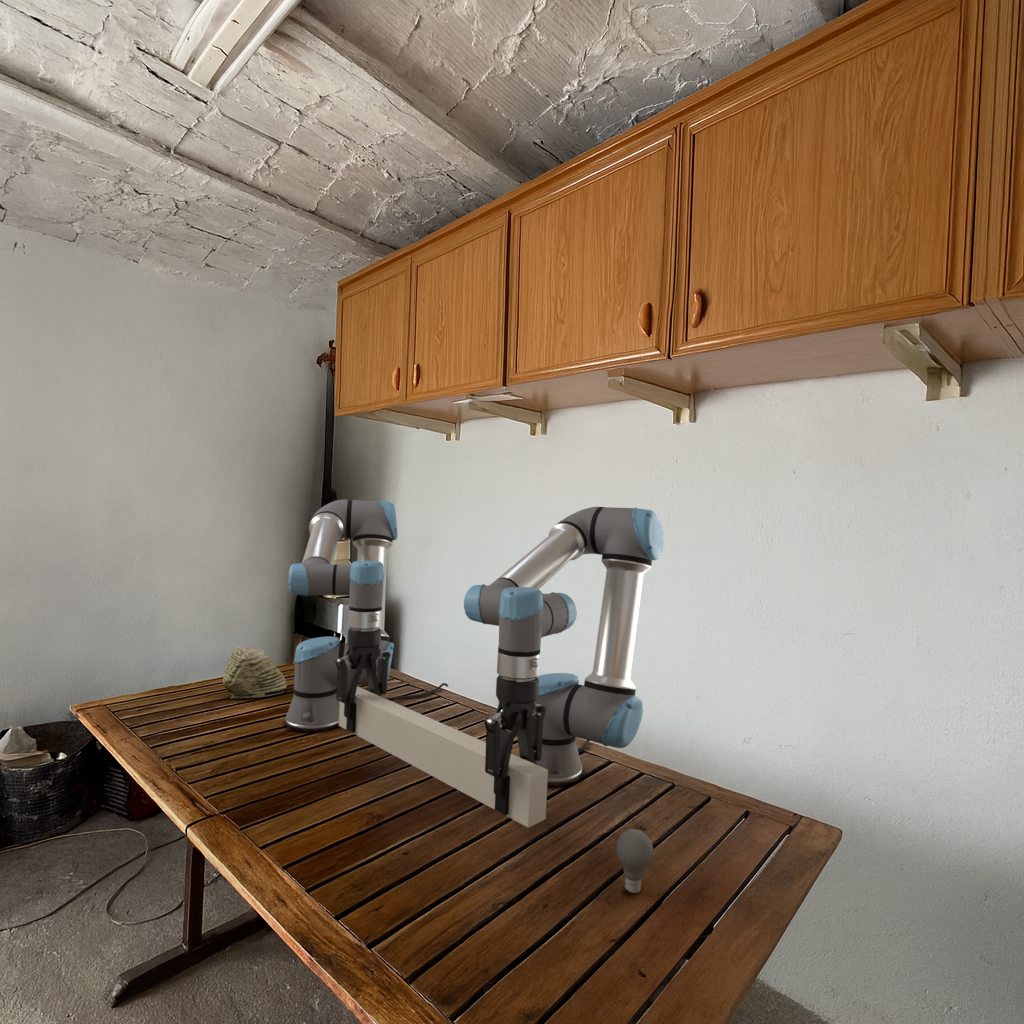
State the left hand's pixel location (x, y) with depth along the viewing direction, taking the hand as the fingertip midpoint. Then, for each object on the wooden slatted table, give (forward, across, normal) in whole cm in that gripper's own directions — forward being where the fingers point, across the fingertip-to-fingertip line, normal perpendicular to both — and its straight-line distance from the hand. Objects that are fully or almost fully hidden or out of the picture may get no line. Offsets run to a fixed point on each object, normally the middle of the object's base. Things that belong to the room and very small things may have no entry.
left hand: (360, 728), depth 147 cm
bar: (+1, 0, -25) cm, 25 cm away
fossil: (+10, +5, +68) cm, 69 cm away
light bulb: (+10, +10, -69) cm, 70 cm away
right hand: (0, 0, -49) cm, 49 cm away
